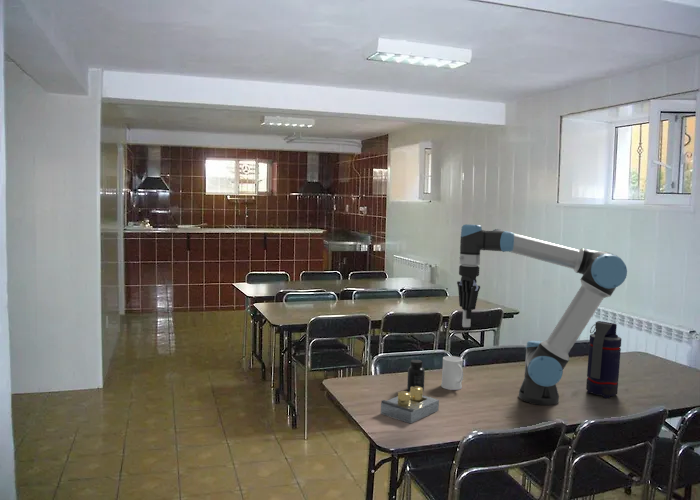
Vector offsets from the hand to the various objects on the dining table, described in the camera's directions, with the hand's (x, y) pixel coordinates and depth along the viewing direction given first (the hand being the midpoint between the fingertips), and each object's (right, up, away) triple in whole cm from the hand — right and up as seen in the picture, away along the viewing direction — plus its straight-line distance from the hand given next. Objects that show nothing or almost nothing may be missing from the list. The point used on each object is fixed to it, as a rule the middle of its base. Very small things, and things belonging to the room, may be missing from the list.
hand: (466, 326), depth 223 cm
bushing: (-20, -30, -7) cm, 37 cm away
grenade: (+58, -30, +17) cm, 68 cm away
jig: (-23, -30, -11) cm, 39 cm away
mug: (-2, -28, +19) cm, 34 cm away
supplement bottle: (-18, -28, +14) cm, 36 cm away
